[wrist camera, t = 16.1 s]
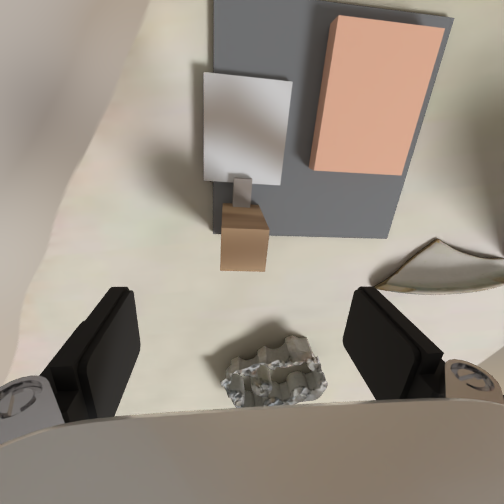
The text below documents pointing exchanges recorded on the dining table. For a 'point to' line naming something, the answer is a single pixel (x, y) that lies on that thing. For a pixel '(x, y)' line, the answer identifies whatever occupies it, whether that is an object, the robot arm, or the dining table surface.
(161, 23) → the dining table surface
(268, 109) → the turner
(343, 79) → the tile
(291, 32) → the mat
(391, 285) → the ceramic fragment
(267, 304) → the dining table surface
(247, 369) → the egg carton
